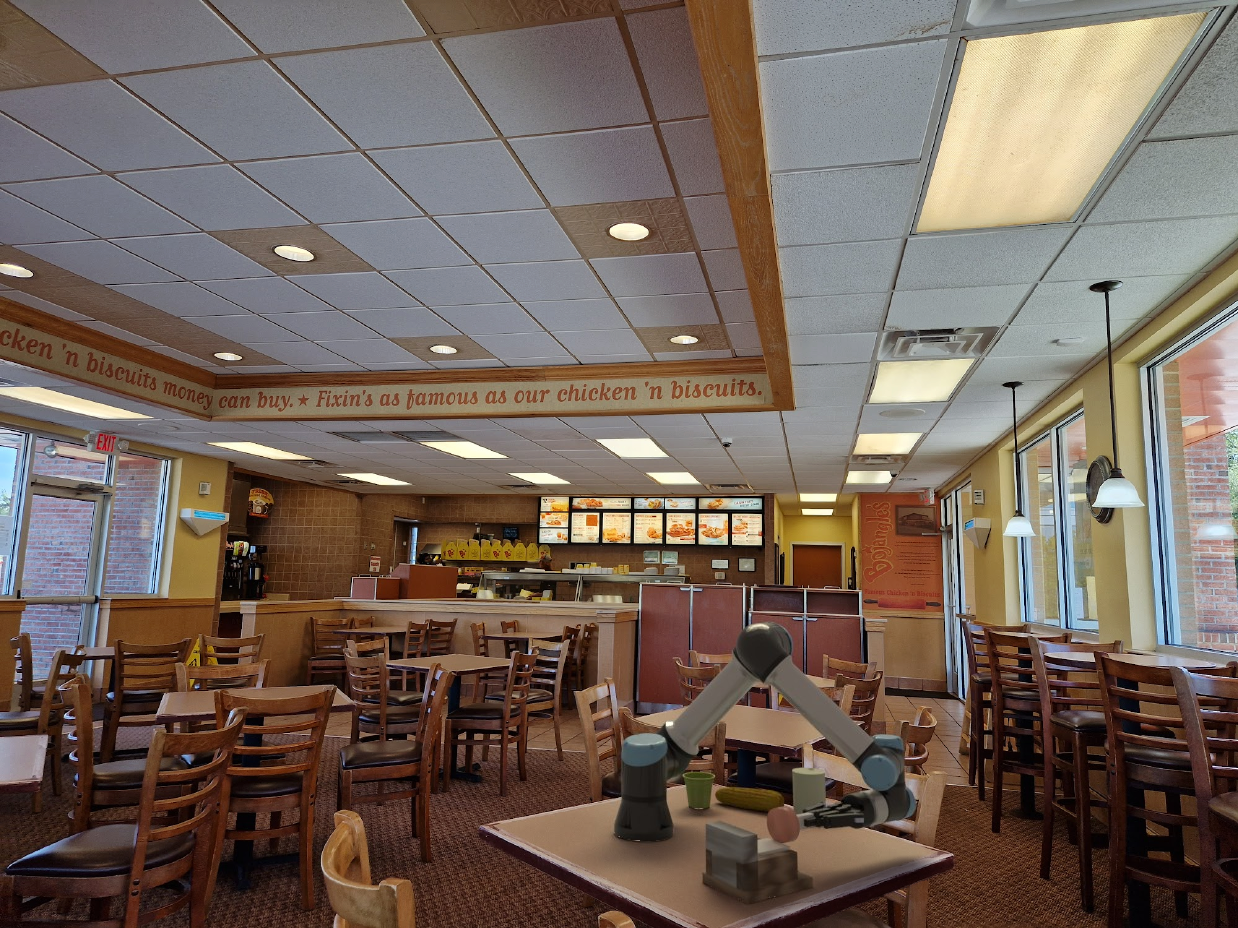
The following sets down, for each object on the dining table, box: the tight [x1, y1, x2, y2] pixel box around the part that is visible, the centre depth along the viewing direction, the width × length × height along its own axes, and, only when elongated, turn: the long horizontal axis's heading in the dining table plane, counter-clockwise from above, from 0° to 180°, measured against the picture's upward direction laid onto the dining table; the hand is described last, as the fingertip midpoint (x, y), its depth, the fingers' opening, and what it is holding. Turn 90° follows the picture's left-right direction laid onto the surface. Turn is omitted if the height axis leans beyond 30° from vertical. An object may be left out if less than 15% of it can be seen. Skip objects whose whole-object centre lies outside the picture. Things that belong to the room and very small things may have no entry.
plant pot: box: [682, 771, 716, 809], centre depth 227 cm, size 9×9×9 cm
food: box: [714, 786, 785, 813], centre depth 226 cm, size 21×6×6 cm, turn 56°
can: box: [791, 767, 827, 815], centre depth 221 cm, size 9×9×12 cm
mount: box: [701, 820, 814, 905], centre depth 165 cm, size 18×14×12 cm
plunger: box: [758, 805, 801, 856], centre depth 167 cm, size 13×7×12 cm, turn 123°
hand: (790, 823), depth 171 cm, fingers closed
